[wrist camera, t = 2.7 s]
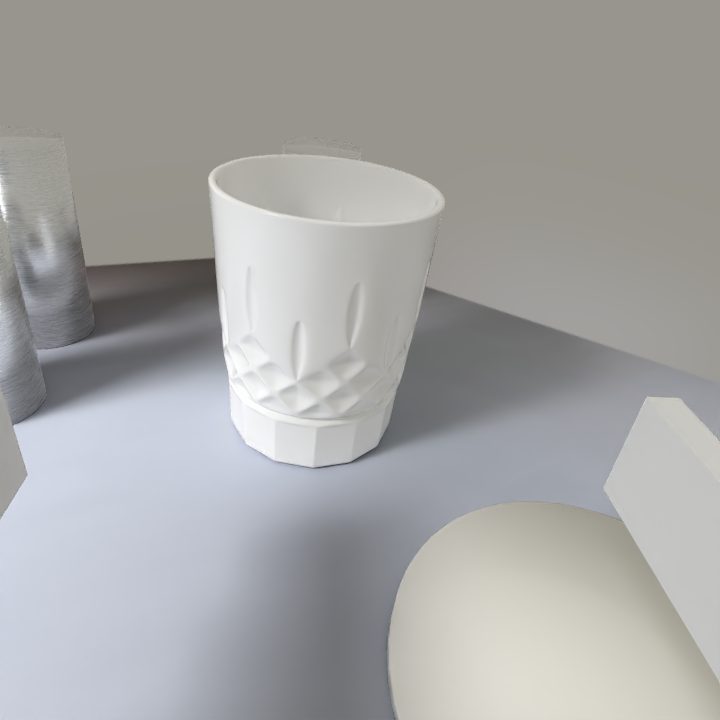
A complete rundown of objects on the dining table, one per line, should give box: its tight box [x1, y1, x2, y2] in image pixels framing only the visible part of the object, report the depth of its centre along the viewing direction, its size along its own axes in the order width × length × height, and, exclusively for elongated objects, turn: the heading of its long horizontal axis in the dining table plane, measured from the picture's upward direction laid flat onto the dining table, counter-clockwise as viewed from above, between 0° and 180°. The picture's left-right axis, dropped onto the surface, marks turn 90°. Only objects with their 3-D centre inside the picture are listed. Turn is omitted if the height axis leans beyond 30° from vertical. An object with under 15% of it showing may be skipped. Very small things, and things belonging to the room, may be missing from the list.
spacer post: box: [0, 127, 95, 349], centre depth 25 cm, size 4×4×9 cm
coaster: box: [387, 502, 720, 720], centre depth 15 cm, size 12×12×1 cm
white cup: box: [208, 154, 445, 468], centre depth 21 cm, size 8×8×10 cm
